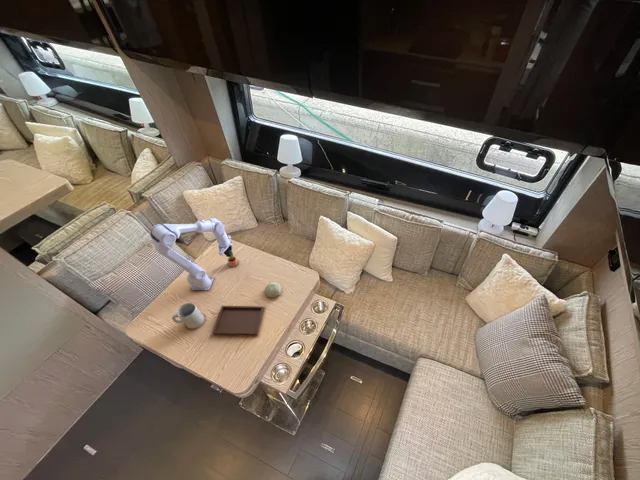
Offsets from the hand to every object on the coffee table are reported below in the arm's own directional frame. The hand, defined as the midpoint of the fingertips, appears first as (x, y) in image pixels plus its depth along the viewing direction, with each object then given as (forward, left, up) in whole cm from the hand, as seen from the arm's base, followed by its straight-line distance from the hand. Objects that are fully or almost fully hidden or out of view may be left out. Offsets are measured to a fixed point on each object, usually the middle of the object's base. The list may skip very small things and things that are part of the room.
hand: (229, 254), depth 161 cm
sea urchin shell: (+28, -20, -8) cm, 35 cm away
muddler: (0, 0, -4) cm, 4 cm away
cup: (0, 0, -8) cm, 8 cm away
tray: (+14, -39, -8) cm, 42 cm away
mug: (-10, -40, -8) cm, 42 cm away
